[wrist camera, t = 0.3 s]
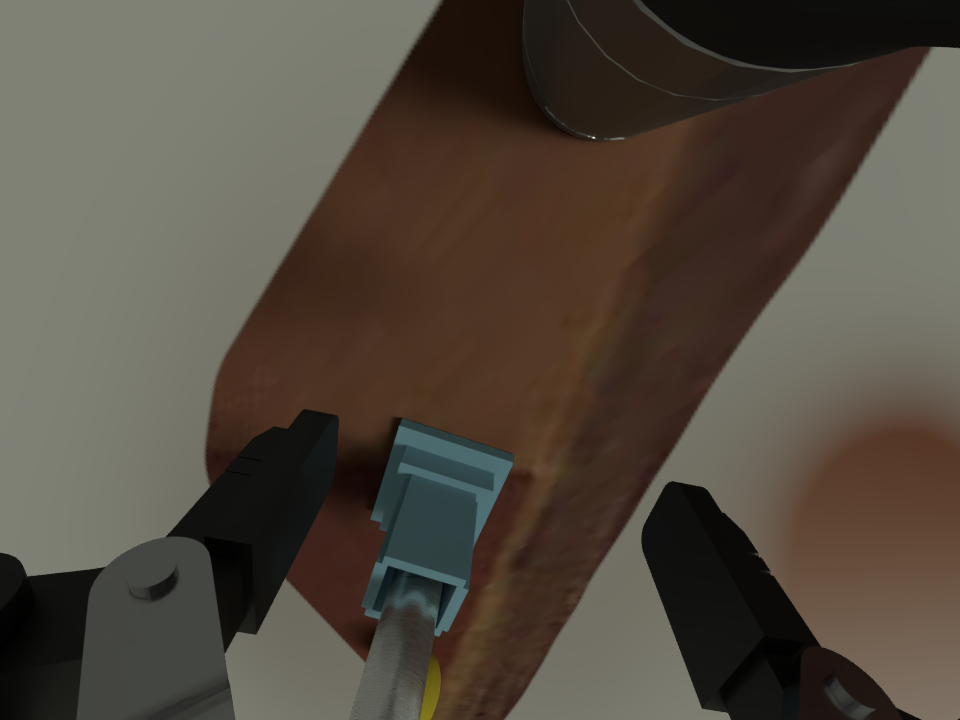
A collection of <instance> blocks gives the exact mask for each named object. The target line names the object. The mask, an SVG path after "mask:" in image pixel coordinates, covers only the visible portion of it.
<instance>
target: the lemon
mask: <svg viewBox="0 0 960 720" xmlns="http://www.w3.org/2000/svg"><path fill="white" fill-rule="evenodd" d="M440 685H441V677H440V668H439V664H438V661H437V659H436V657H435V656H434V654H433V653H432V652H431V657H430V663H429V669H428V675H427V680H426V686H425V692H424V698H423V704H422V710H421V716H420V720H431V718H432V716H433V713H434V710H435V708H436V704H437V701H438V697H439V693H440Z"/></svg>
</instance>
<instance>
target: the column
mask: <svg viewBox="0 0 960 720" xmlns="http://www.w3.org/2000/svg"><path fill="white" fill-rule="evenodd" d="M442 587H443V582H441V581H438V580H434V579H431V578H428V577H424V576H421V575H418V574H414V573H411V572H408V571H404V570H401V569H398V568H394V572H393V575H392V578H391V582H390V585H389V588H388V592H387V595H386V598H385V602H384V605H383V608H382V612H381V615H380V618H379V621H378V625H377V628H376V631H375V635H374V638H373V641H372V645H371V648H370V651H369V655H368V658H367V661H366V665H365V668H364V671H363V675H362V678H361V682H360V685H359V688H358V691H357V695H356V698H355V702H354V705H353V708H352V711H351V715H350V718H349V720H420V716H421V710H422V704H423V698H424V692H425V686H426V680H427V675H428V669H429V663H430V657H431V651H432V645H433V639H434V634H435V628H436V622H437V616H438V610H439V604H440V598H441V593H442Z"/></svg>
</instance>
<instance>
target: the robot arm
mask: <svg viewBox="0 0 960 720" xmlns="http://www.w3.org/2000/svg"><path fill="white" fill-rule="evenodd" d="M910 47H951V48H960V0H525V1H524V12H523V27H522V60H523V65H524V70H525V75H526V79H527V83H528V85H529V88H530V90H531V92H532V95H533V97H534V99H535V101H536V103H537V104H538V106H539V107H540V109H541V110H542V111H543V113H544V114H545V116H546V117H547V118H548V119H549V120H551V121H552V122H553V123H554V124H555V125H556V126H557V127H558V128H560V129H561V130H563V131H565V132H567V133H569V134H571V135H572V136H574V137H577V138H581V139H585V140H589V141H614V140H622V139H624V138H628V137H631V136H634V135H637V134H640V133H644V132H648V131H651V130H654V129H657V128H660V127H663V126H666V125H669V124H672V123H676V122H679V121H682V120H685V119H688V118H691V117H694V116H697V115H700V114H703V113H706V112H709V111H713V110H716V109H719V108H722V107H725V106H728V105H731V104H734V103H737V102H740V101H743V100H746V99H749V98H753V97H756V96H759V95H762V94H765V93H768V92H771V91H774V90H777V89H780V88H783V87H786V86H789V85H792V84H795V83H798V82H801V81H804V80H807V79H810V78H813V77H816V76H820V75H823V74H826V73H829V72H832V71H835V70H838V69H841V68H844V67H848V66H851V65H854V64H857V63H860V62H863V61H866V60H869V59H873V58H877V57H881V56H885V55H888V54H891V53H894V52H898V51H901V50H904V49H907V48H910ZM338 427H339V419H338V416H337V415H333V414H327V413H322V412H317V411H312V410H307V409H304V410H303V411H301V413H300V414H299V415H298V416H297V418H296V419H295V420H294V421H293V423H292V424H291V425H290V427H289V428H288V429H285V428H280V427H275V426H274V427H272V428H271V429H269V430H267V431H265V432H264V433H262V434H260V435H258V436H257V437H255V438H253V439H252V440H251V441H250V442H249V443H248V444H247V446H246V447H245V448H244V449H243V450H242V451H241V452H240V454H239V455H238V457H237V459H234V460H233V461H232V463H231V464H230V465H229V466H228V467H227V468H226V469H225V472H224V474H221V475H220V476H219V477H218V478H217V480H216V481H215V482H214V483H213V484H212V485H211V486H210V488H209V489H208V490H207V491H206V492H205V494H204V495H203V496H202V497H201V498H200V499H199V500H198V501H197V502H196V503H195V505H194V506H193V507H192V508H191V509H190V510H189V511H188V513H187V514H186V515H185V516H184V517H183V518H182V519H181V521H180V522H179V523H178V524H177V525H176V526H175V527H174V528H173V530H172V531H171V532H170V533H169V534H168V535H167V536H166V537H165V538H160V539H155V540H151V541H148V542H146V543H143V544H140V545H138V546H136V547H134V548H132V549H130V550H128V551H126V552H125V553H123V554H121V555H120V556H119V557H117V558H116V559H114V560H113V561H112V562H111V563H110V564H109V565H108V566H106V567H103V568H97V569H90V570H81V571H74V572H64V573H55V574H46V575H37V576H28V577H27V574H26V572H25V570H24V567H23V565H22V563H21V562H20V561H19V560H18V559H17V558H16V557H14V556H11V555H9V554H4V553H0V720H235V714H234V708H233V701H232V695H231V689H230V684H229V680H228V674H227V668H226V661H225V653H226V651H227V649H228V647H229V645H230V643H231V642H232V640H233V638H234V636H235V634H236V633H237V632H243V633H249V634H255V635H256V634H257V632H258V630H259V628H260V626H261V624H262V622H263V620H264V618H265V617H266V615H267V612H268V610H269V609H270V606H271V605H272V603H273V601H274V598H275V597H276V595H277V593H278V591H279V589H280V587H281V585H282V583H283V581H284V579H285V577H286V575H287V573H288V571H289V569H290V567H291V565H292V563H293V561H294V559H295V557H296V555H297V553H298V552H299V550H300V548H301V546H302V544H303V542H304V540H305V538H306V536H307V534H308V532H309V530H310V528H311V526H312V524H313V522H314V520H315V518H316V516H317V514H318V512H319V510H320V508H321V506H322V504H323V502H324V500H325V498H326V496H327V494H328V492H329V490H330V487H331V484H332V481H333V478H334V473H335V468H336V455H337V441H338ZM641 542H642V549H643V553H644V556H645V558H646V561H647V564H648V566H649V569H650V572H651V574H652V577H653V579H654V582H655V585H656V588H657V590H658V593H659V595H660V598H661V601H662V603H663V606H664V609H665V611H666V614H667V617H668V619H669V622H670V625H671V627H672V630H673V632H674V635H675V638H676V641H677V643H678V646H679V649H680V651H681V654H682V657H683V659H684V661H685V664H686V667H687V670H688V672H689V675H690V677H691V680H692V683H693V686H694V688H695V691H696V693H697V696H698V699H699V702H700V704H701V707H702V709H708V710H714V711H720V712H727V713H728V714H729V716H730V718H731V720H921V719H919V718H917V717H914V716H912V715H910V714H908V713H906V712H904V711H902V710H900V709H898V708H896V707H895V705H894V704H893V703H892V701H891V700H890V698H889V697H888V696H887V694H886V693H885V692H884V691H883V689H882V688H881V687H880V686H879V685H878V684H877V683H876V682H875V681H874V680H873V679H872V678H871V677H870V676H869V675H868V674H867V673H866V672H864V671H863V670H862V669H861V668H860V667H858V666H857V665H856V664H854V663H853V662H851V661H850V660H849V659H847V658H845V657H843V656H842V655H840V654H838V653H836V652H834V651H832V650H829V649H827V648H823V647H821V646H820V644H819V643H818V641H817V640H816V638H815V637H814V635H813V634H812V632H811V631H810V629H809V628H808V626H807V625H806V623H805V622H804V620H803V619H802V617H801V616H800V615H799V613H798V612H797V610H796V609H795V607H794V606H793V604H792V602H791V601H790V599H789V598H788V597H787V595H786V594H785V592H784V591H783V589H782V588H781V586H780V585H779V583H778V582H777V580H776V579H775V577H774V576H772V575H770V570H769V568H768V567H767V565H766V564H765V562H764V561H763V559H762V558H760V557H759V556H758V552H757V550H756V549H755V547H754V546H753V544H752V543H751V541H750V540H749V538H748V537H747V535H746V534H745V532H744V531H742V530H741V529H740V528H739V527H738V526H737V525H736V524H735V523H734V522H733V521H732V520H731V519H730V518H729V517H728V516H727V515H726V514H725V513H722V512H721V510H720V509H719V507H718V506H717V504H716V502H715V501H714V499H713V498H712V496H711V495H710V493H709V492H708V490H706V489H705V488H703V487H700V486H694V485H689V484H684V483H679V482H674V481H672V482H669V483H668V484H667V485H666V486H665V487H664V489H663V491H662V492H661V494H660V496H659V498H658V500H657V502H656V504H655V505H654V507H653V509H652V511H651V513H650V515H649V517H648V519H647V520H646V522H645V524H644V527H643V531H642V539H641ZM958 720H960V719H958Z"/></svg>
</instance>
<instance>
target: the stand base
mask: <svg viewBox="0 0 960 720" xmlns="http://www.w3.org/2000/svg"><path fill="white" fill-rule="evenodd" d="M513 463H514V454H511V453H508V452H505V451H501V450H498V449H495V448H492V447H489V446H486V445H483V444H480V443H477V442H474V441H471V440H468V439H465V438H462V437H459V436H456V435H453V434H449V433H446V432H443V431H440V430H437V429H434V428H431V427H428V426H425V425H422V424H419V423H416V422H413V421H410V420H407V419H404V418H403V419H402V421H401V423H400V425H399V428H398V432H397V435H396V438H395V441H394V445H393V448H392V451H391V454H390V458H389V461H388V464H387V467H386V471H385V474H384V477H383V480H382V484H381V487H380V490H379V493H378V497H377V500H376V503H375V506H374V510H373V513H372V516H371V520H375V521H378V522H381V524H380V527H379V529H380V530H383V531H386V535H385V538H384V541H383V544H382V547H381V549H380V552H379V555H378V558H377V561H376V564H375V567H374V570H373V573H372V576H371V579H370V582H369V585H368V587H367V590H366V593H365V596H364V599H363V602H362V605H361V607H365V608H366V611H365V614H364V615H366V616H370V617H373V618H377V619H379V618H380V615H381V612H382V608H383V605H384V602H385V598H386V595H387V592H388V588H389V585H390V582H391V578H392V575H393V572H394V568H398V569H401V570H404V571H408V572H411V573H414V574H418V575H421V576H424V577H428V578H431V579H434V580H438V581H441V582H443V587H442V593H441V598H440V604H439V610H438V616H437V622H436V628H435V634H434V635H435V636H440V634H441V632H442V630H444V631H447V632H448V630H449V628H450V626H451V624H452V622H453V620H454V618H455V616H456V614H457V612H458V610H459V608H460V606H461V604H462V602H463V600H464V598H465V596H466V594H467V592H468V590H469V581H470V572H471V563H472V553H473V547H474V545H475V543H476V541H477V539H478V537H479V534H480V532H481V530H482V528H483V526H484V524H485V522H486V520H487V518H488V515H489V513H490V511H491V509H492V507H493V505H494V503H495V501H496V499H497V496H498V494H499V492H500V490H501V488H502V486H503V484H504V482H505V480H506V478H507V475H508V473H509V471H510V469H511V467H512V465H513Z"/></svg>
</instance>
